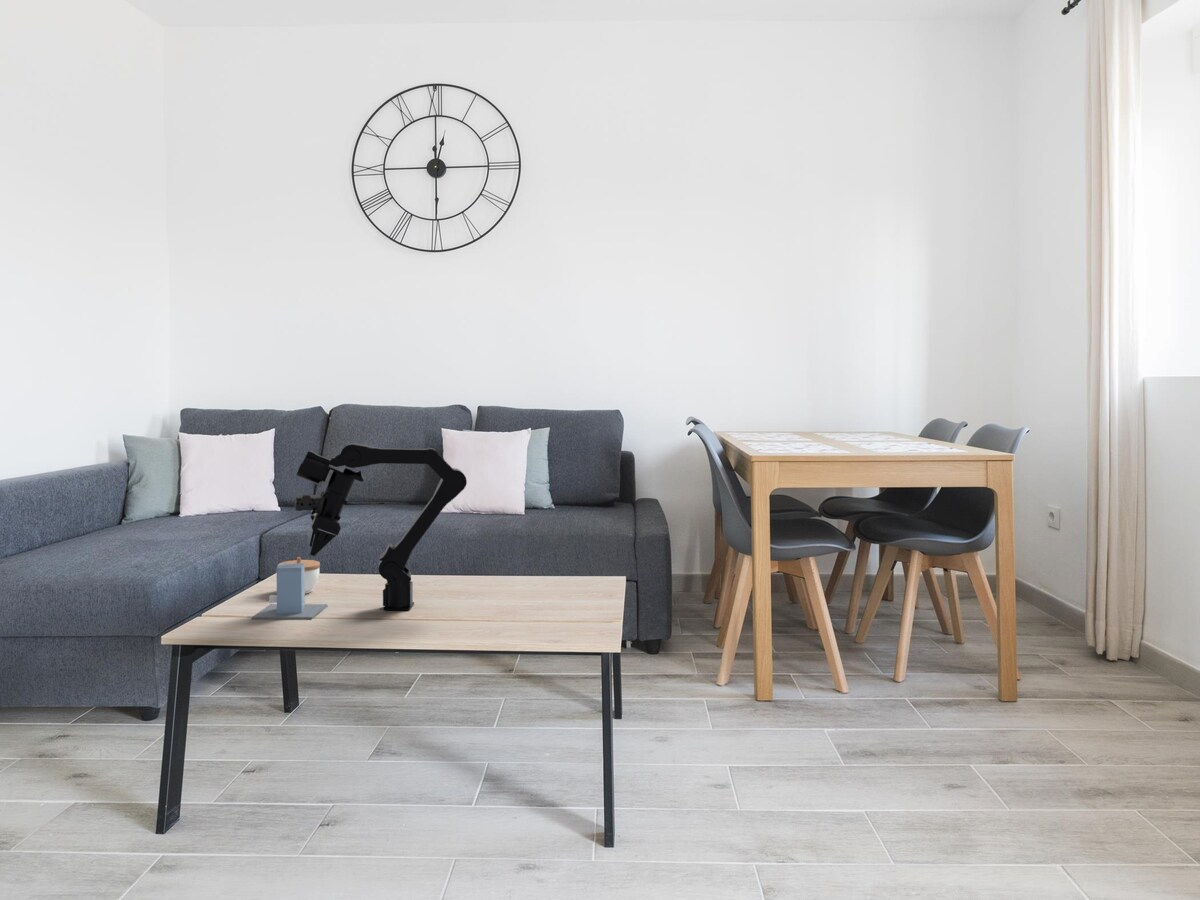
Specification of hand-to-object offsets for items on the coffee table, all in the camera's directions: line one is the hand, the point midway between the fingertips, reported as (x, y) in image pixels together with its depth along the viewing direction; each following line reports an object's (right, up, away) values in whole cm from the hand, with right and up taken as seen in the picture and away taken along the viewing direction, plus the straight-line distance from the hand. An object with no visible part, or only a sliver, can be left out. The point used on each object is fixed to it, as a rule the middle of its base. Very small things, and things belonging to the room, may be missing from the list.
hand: (311, 550), depth 195 cm
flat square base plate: (-5, -15, 0) cm, 16 cm away
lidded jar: (-11, -14, +21) cm, 27 cm away
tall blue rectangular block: (-5, -14, 0) cm, 15 cm away
